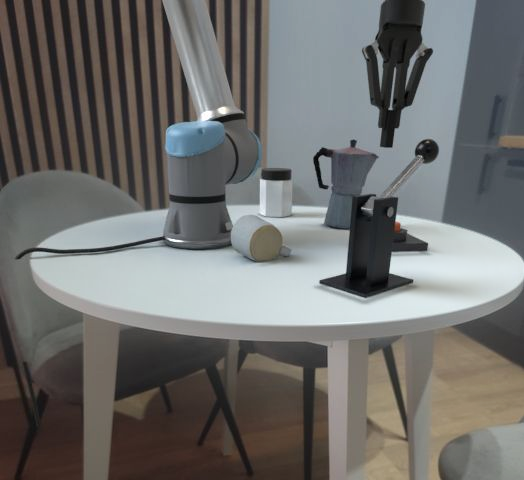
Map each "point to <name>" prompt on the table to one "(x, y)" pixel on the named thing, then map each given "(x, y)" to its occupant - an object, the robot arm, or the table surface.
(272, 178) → the jar
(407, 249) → the control block
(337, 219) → the moka pot
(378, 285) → the bracket
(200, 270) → the table surface
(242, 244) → the ceramic mug
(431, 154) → the lever
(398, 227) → the button
